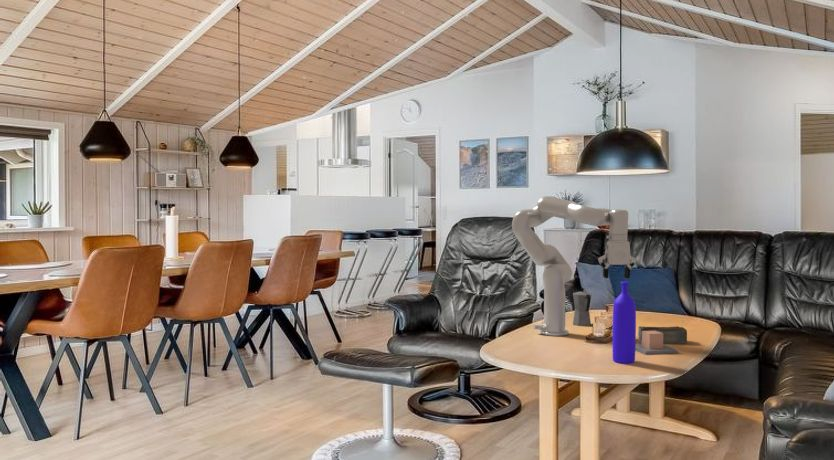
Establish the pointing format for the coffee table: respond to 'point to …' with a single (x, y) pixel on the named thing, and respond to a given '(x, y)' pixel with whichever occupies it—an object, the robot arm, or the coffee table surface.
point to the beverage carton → (667, 334)
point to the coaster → (655, 351)
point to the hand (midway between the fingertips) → (616, 277)
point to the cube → (652, 339)
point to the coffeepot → (582, 308)
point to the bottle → (624, 327)
